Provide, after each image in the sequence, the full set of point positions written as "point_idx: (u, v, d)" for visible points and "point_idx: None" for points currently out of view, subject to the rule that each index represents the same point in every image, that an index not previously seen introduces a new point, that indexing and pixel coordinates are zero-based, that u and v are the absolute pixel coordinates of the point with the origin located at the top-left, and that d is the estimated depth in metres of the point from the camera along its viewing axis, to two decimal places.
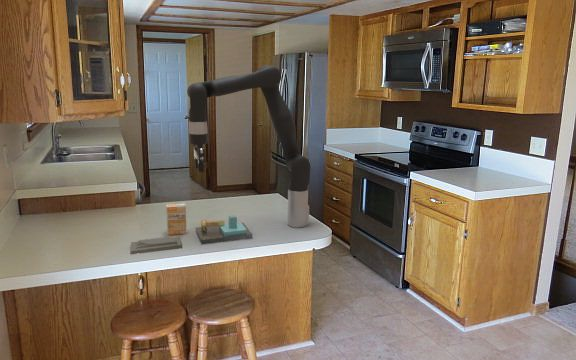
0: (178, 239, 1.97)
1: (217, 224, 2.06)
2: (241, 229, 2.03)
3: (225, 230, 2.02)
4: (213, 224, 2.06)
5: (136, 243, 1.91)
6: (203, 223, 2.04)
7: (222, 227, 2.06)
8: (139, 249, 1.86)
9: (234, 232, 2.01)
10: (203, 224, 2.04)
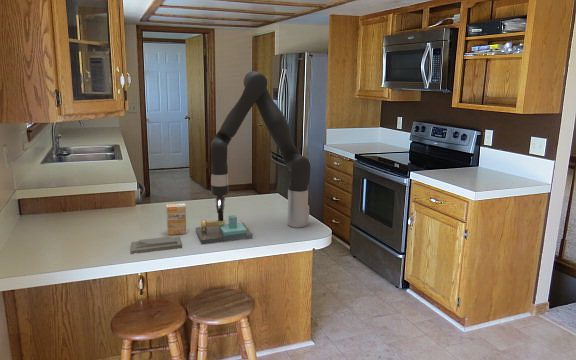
0: (178, 239, 1.97)
1: (217, 224, 2.06)
2: (241, 229, 2.03)
3: (225, 230, 2.02)
4: (213, 224, 2.06)
5: (136, 243, 1.92)
6: (203, 223, 2.04)
7: (222, 227, 2.06)
8: (139, 249, 1.86)
9: (234, 232, 2.01)
10: (203, 224, 2.04)
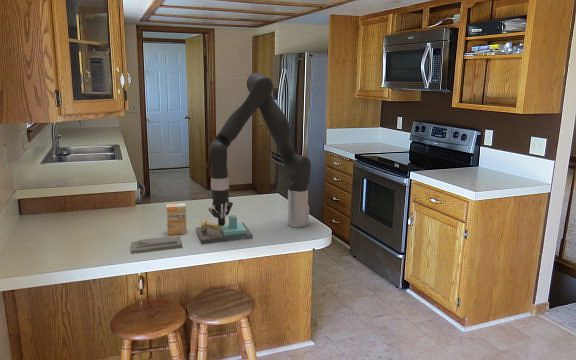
0: (178, 239, 1.97)
1: (213, 228, 2.02)
2: (241, 229, 2.03)
3: (225, 230, 2.02)
4: (209, 226, 2.03)
5: (136, 243, 1.92)
6: (201, 223, 2.04)
7: (222, 227, 2.06)
8: (139, 249, 1.86)
9: (234, 232, 2.01)
10: (201, 224, 2.04)
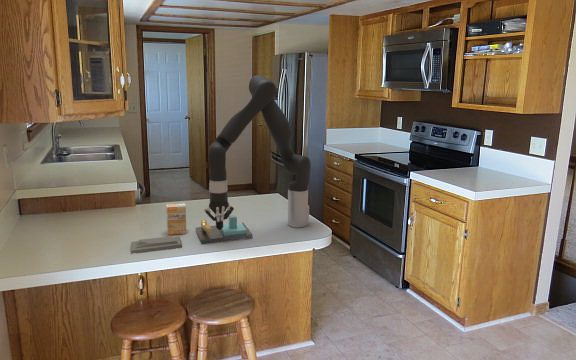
0: (178, 239, 1.97)
1: (205, 229, 2.00)
2: (241, 229, 2.03)
3: (225, 230, 2.02)
4: (204, 227, 2.01)
5: (136, 243, 1.92)
6: (201, 222, 2.05)
7: None
8: (139, 249, 1.86)
9: (234, 232, 2.01)
10: (201, 223, 2.05)
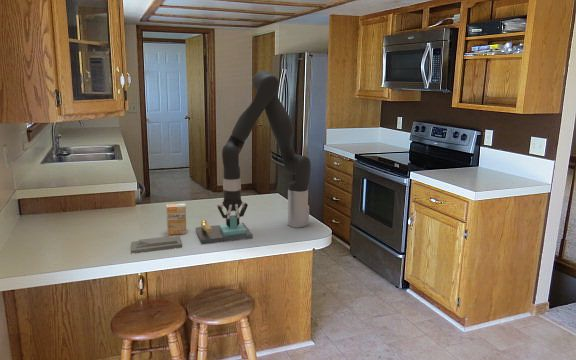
0: (178, 238, 1.97)
1: (205, 229, 2.00)
2: (241, 229, 2.03)
3: (225, 230, 2.02)
4: (204, 227, 2.01)
5: (136, 243, 1.92)
6: (201, 222, 2.05)
7: (222, 227, 2.06)
8: (139, 248, 1.87)
9: (234, 232, 2.01)
10: (201, 223, 2.05)
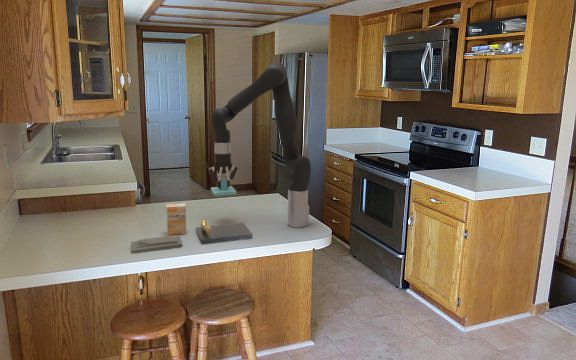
0: (178, 238, 1.97)
1: (205, 229, 2.00)
2: (231, 190, 2.17)
3: (216, 191, 2.15)
4: (204, 227, 2.01)
5: (136, 242, 1.92)
6: (201, 222, 2.05)
7: (213, 189, 2.19)
8: (139, 248, 1.87)
9: (224, 193, 2.15)
10: (201, 223, 2.05)
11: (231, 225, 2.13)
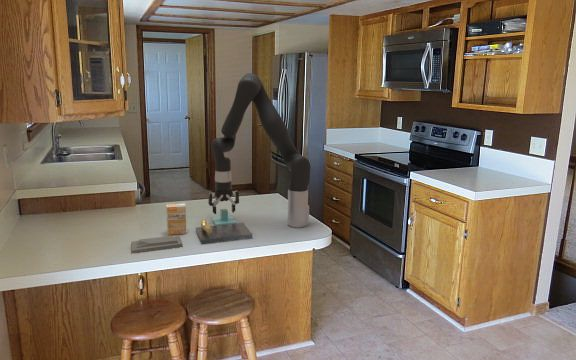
0: (178, 238, 1.97)
1: (205, 229, 2.00)
2: (231, 221, 2.21)
3: (217, 222, 2.19)
4: (204, 227, 2.01)
5: (136, 242, 1.92)
6: (201, 222, 2.05)
7: (214, 220, 2.23)
8: (140, 248, 1.87)
9: None
10: (201, 223, 2.05)
11: (231, 225, 2.13)
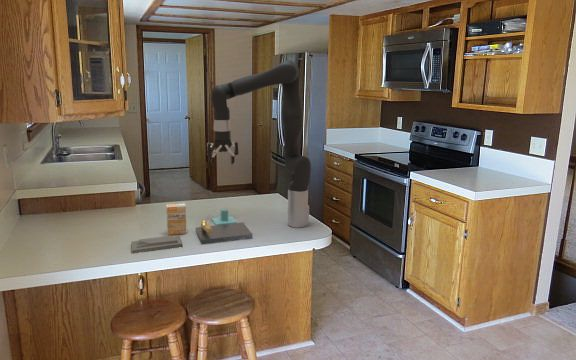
0: (178, 238, 1.98)
1: (205, 229, 2.00)
2: (231, 221, 2.21)
3: (217, 222, 2.19)
4: (204, 227, 2.01)
5: (136, 242, 1.92)
6: (201, 222, 2.05)
7: (214, 220, 2.23)
8: (140, 248, 1.87)
9: None
10: (201, 223, 2.05)
11: (231, 225, 2.13)
